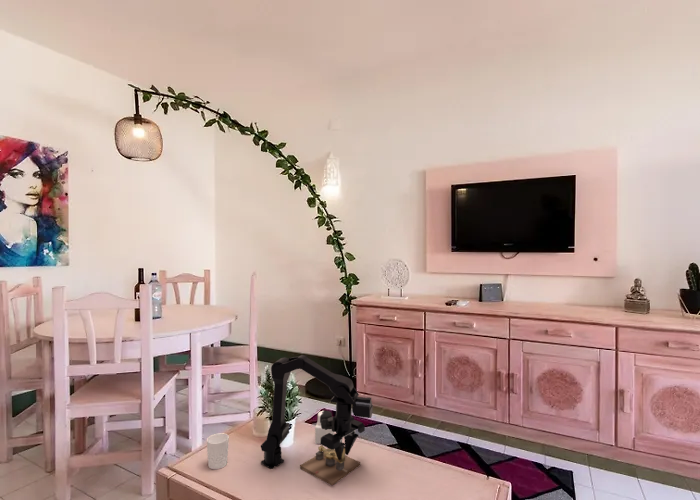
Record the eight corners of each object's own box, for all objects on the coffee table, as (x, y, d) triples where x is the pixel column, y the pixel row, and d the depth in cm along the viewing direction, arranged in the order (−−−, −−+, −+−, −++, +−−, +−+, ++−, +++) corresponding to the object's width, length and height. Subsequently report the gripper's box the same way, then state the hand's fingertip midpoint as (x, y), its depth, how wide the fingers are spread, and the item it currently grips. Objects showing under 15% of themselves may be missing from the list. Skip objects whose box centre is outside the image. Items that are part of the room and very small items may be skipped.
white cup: (211, 473, 137) (211, 445, 137) (203, 463, 143) (203, 437, 143) (232, 465, 142) (232, 438, 142) (223, 456, 148) (223, 431, 148)
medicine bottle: (334, 436, 164) (334, 409, 164) (331, 445, 157) (331, 416, 157) (318, 435, 165) (318, 408, 165) (314, 444, 158) (315, 415, 158)
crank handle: (339, 467, 134) (339, 451, 134) (315, 451, 145) (315, 436, 145) (348, 462, 137) (348, 446, 137) (324, 447, 148) (324, 432, 148)
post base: (300, 468, 140) (300, 458, 140) (328, 450, 153) (329, 441, 153) (332, 485, 130) (332, 474, 130) (360, 465, 143) (360, 455, 143)
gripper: (343, 400, 149) (342, 439, 149) (309, 416, 135) (309, 459, 135) (365, 408, 142) (365, 449, 142) (332, 425, 128) (332, 471, 128)
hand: (343, 456), depth 137 cm, fingers open, 4 cm apart
